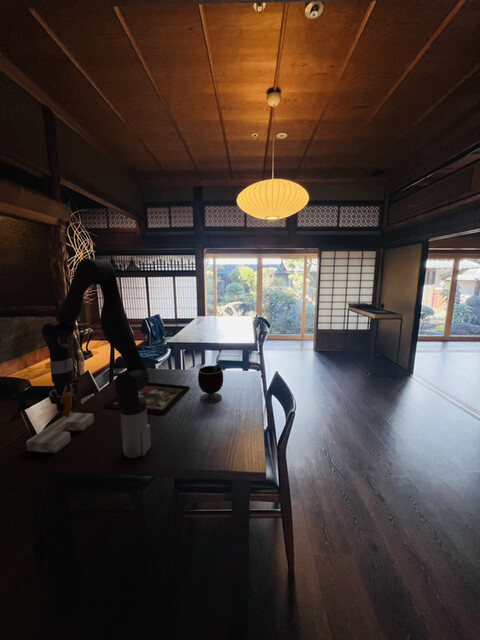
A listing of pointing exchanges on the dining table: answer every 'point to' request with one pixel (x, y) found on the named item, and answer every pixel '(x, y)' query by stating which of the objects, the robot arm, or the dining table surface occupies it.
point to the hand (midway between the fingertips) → (66, 407)
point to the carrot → (67, 403)
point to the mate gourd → (210, 383)
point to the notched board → (59, 433)
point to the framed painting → (157, 397)
